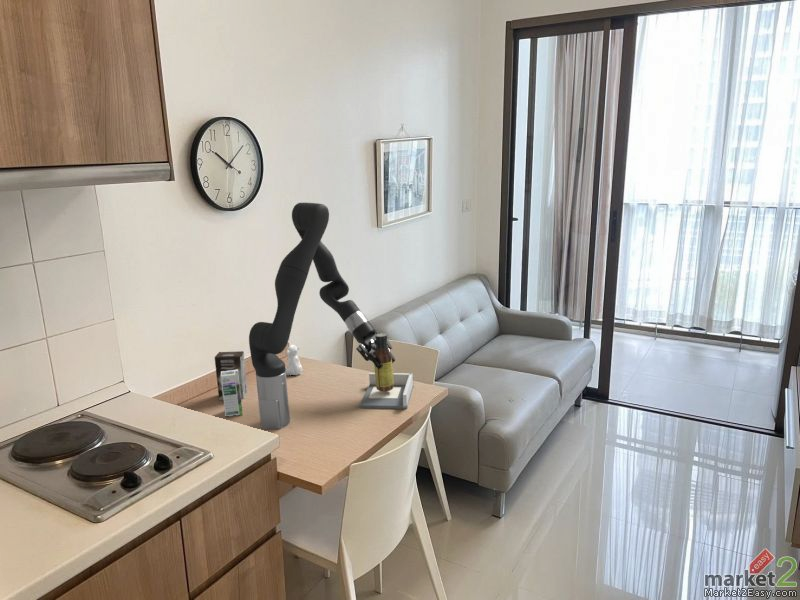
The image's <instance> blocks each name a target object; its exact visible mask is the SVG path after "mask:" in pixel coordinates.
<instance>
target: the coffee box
mask: <svg viewBox="0 0 800 600" xmlns="http://www.w3.org/2000/svg"><path fill="white" fill-rule="evenodd" d="M245 363H246V362H245V354H244V351H243V350H241V351H240V350H239V351H219V352H217V354H216V355H215V356H214V366H215V373H216V383H217V393H218V401H219V400H222V401H223V393H222V385H221V371H229V370H236V369H238V374H239V383H240V392H241V400H242V399H243V400H244V399H245V398H246V395H247V394H248V387H247V377H246V365H245Z"/></svg>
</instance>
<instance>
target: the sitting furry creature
mask: <svg viewBox="0 0 800 600" xmlns="http://www.w3.org/2000/svg"><path fill="white" fill-rule="evenodd" d="M299 350H301V346H300V345H297V346H296V345H295V344H291V345H289V346H288V348H287V349H286V353H285V354H286V355H287V362H286V363H287V364H286V365H287V366H286V367H285V369H286V376H289V375H290V376H291V375H296V376H299V375H301V374H302V373H303V366H302V364H301V362H300V357H299V356H298V352H299ZM300 373H301V374H300ZM298 374H299V375H298Z"/></svg>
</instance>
